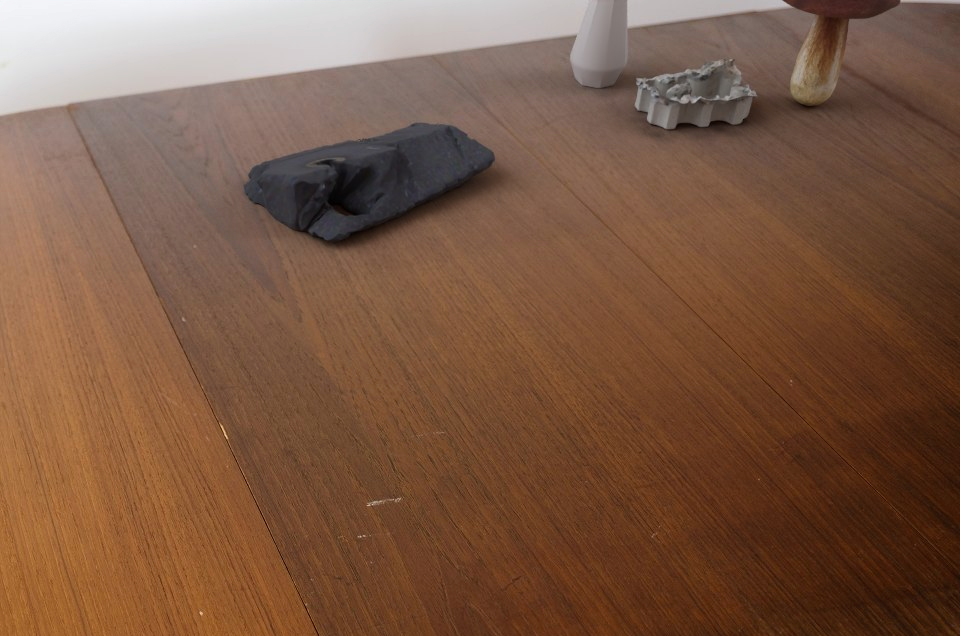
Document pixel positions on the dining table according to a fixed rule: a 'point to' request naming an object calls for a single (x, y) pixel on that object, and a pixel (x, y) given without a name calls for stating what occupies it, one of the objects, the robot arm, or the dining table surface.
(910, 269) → the dining table surface
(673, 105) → the egg carton
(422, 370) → the dining table surface
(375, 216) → the dark slate chunk
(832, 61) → the decorative mushroom
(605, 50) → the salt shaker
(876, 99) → the dining table surface
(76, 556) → the dining table surface
